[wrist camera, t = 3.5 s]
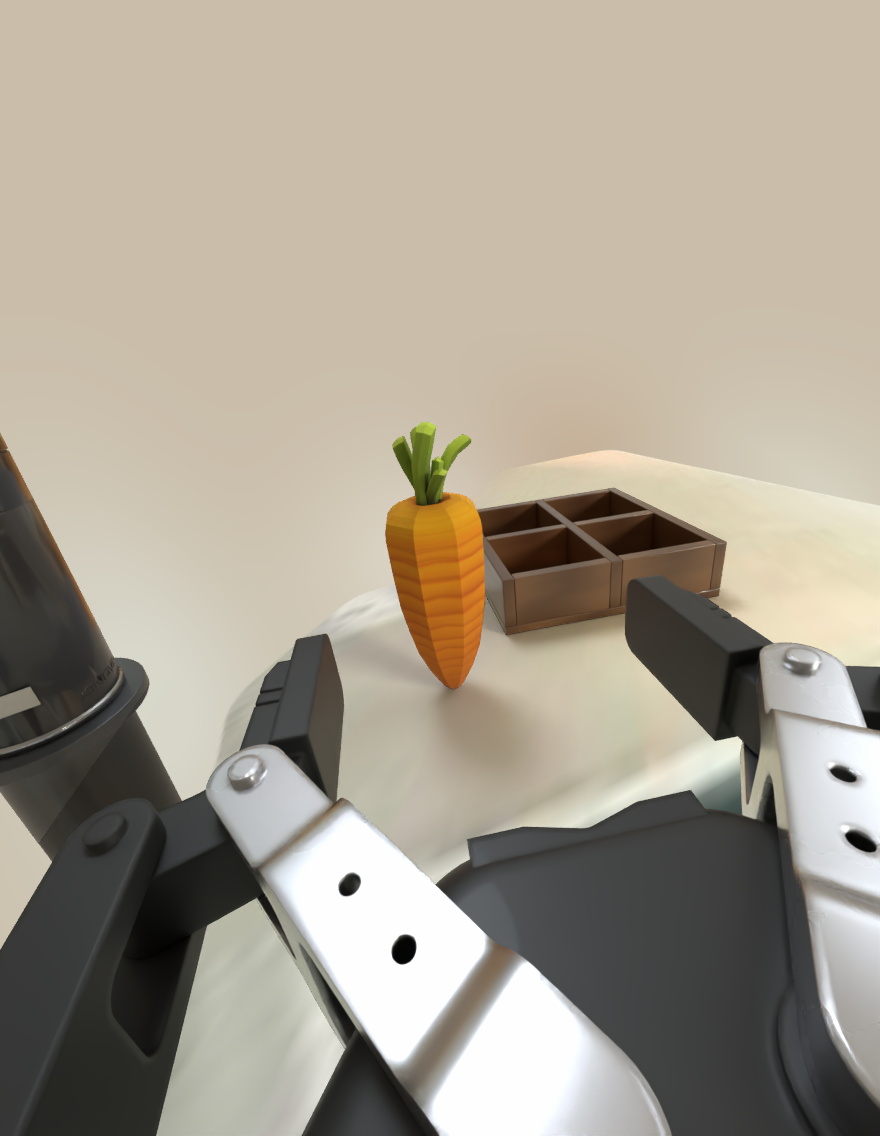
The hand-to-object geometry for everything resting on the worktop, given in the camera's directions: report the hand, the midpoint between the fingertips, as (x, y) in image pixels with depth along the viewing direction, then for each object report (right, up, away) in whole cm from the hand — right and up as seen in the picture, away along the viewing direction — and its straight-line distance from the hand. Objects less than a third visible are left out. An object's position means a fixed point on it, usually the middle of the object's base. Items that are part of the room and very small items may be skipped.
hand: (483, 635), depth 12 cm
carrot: (0, -5, +14) cm, 15 cm away
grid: (+10, +2, +26) cm, 28 cm away
